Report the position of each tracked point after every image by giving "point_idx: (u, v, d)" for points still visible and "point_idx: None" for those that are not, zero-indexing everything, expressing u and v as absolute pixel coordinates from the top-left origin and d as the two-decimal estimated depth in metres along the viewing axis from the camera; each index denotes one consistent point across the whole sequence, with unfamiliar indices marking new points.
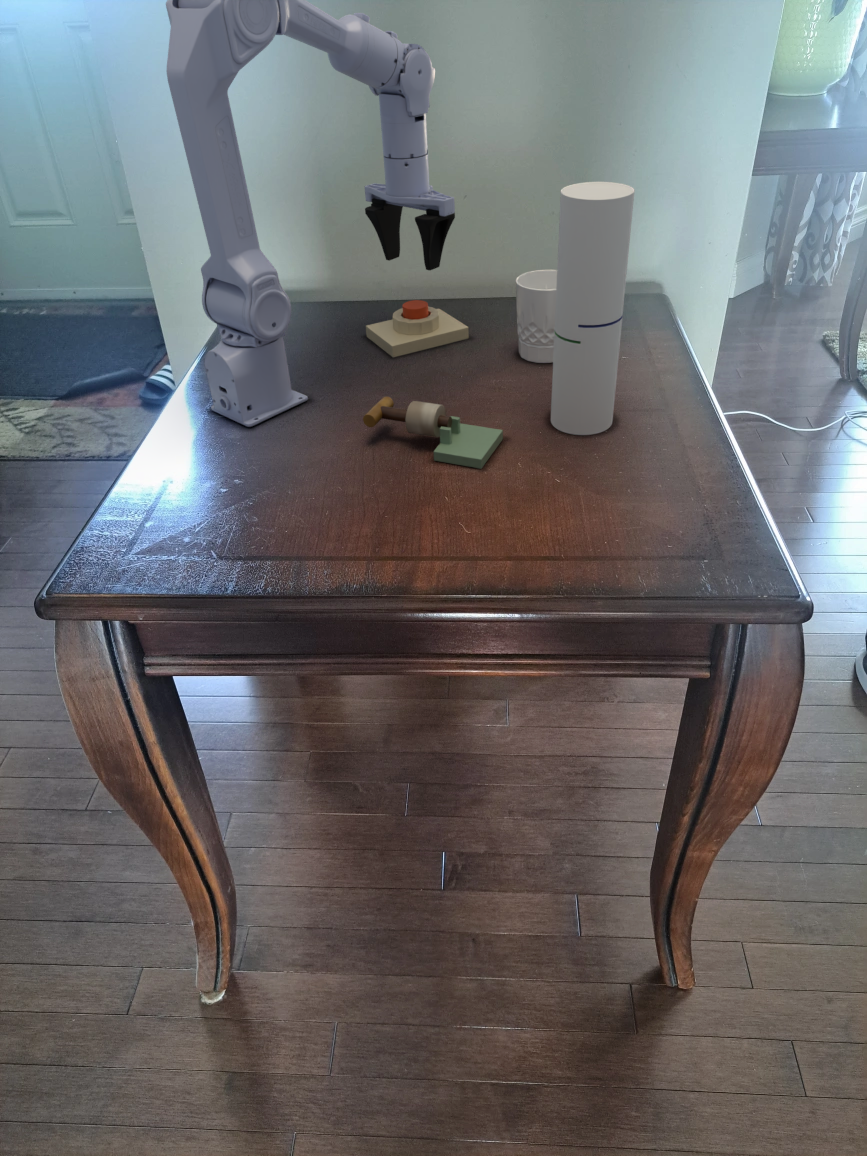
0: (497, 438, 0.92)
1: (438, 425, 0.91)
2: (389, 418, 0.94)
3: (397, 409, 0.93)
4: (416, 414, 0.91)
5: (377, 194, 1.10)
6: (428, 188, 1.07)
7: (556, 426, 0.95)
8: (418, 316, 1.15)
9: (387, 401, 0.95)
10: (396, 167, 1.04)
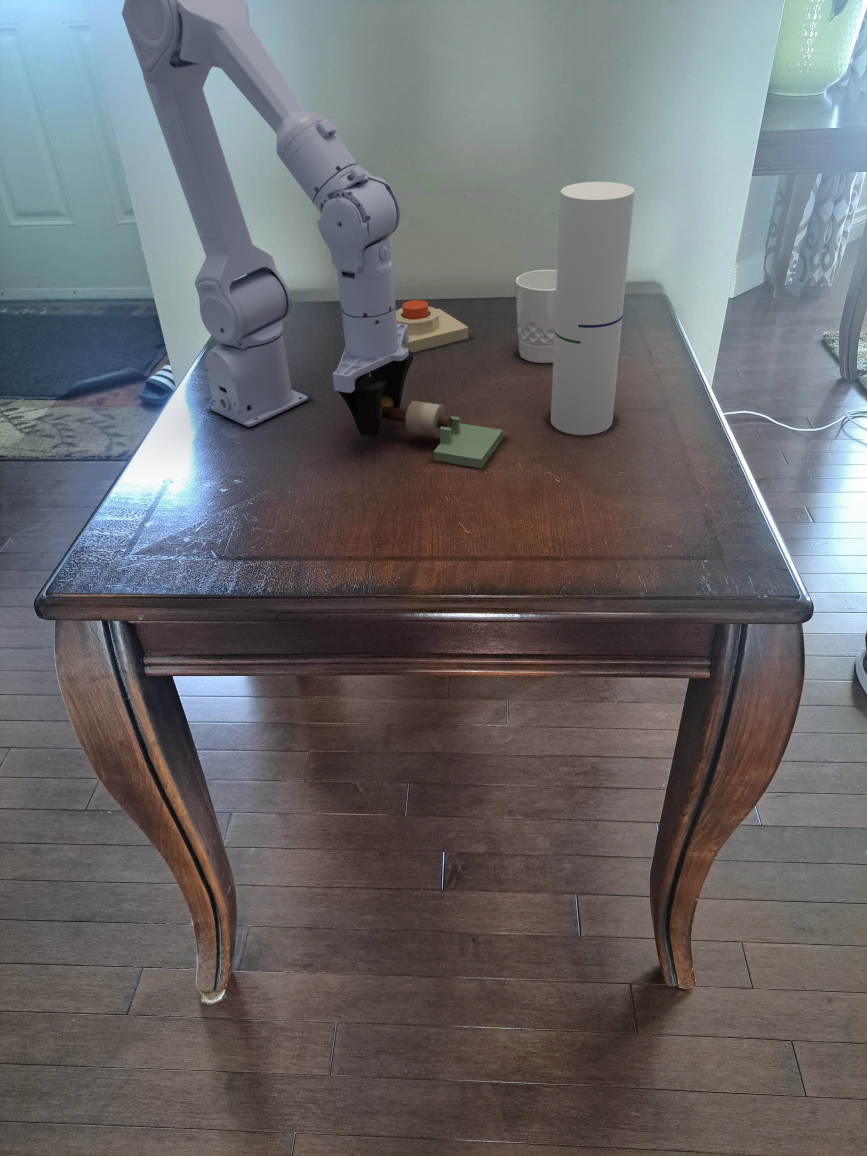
0: (497, 438, 0.92)
1: (438, 425, 0.91)
2: (389, 418, 0.94)
3: (397, 409, 0.93)
4: (416, 414, 0.91)
5: None
6: (371, 354, 0.87)
7: (556, 426, 0.95)
8: (418, 316, 1.15)
9: (387, 401, 0.95)
10: None
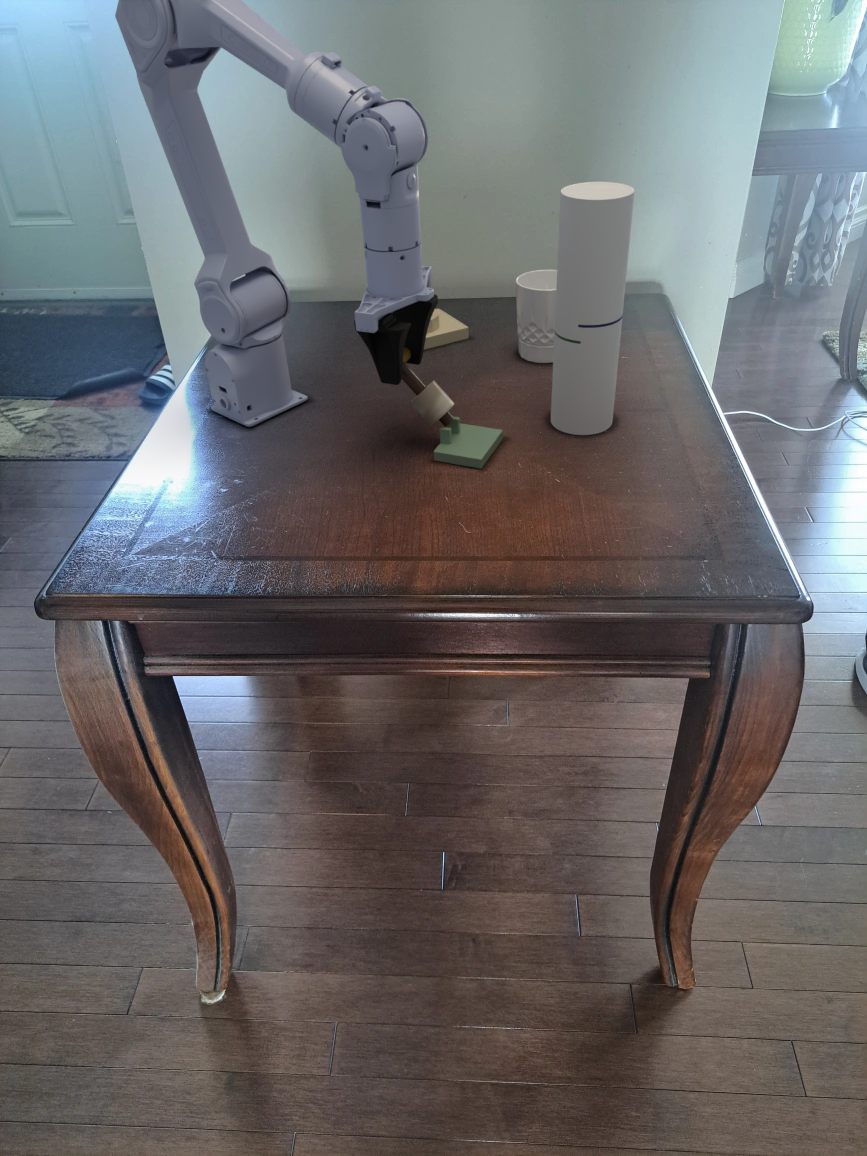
0: (497, 438, 0.92)
1: (439, 418, 0.91)
2: None
3: (414, 376, 0.90)
4: (430, 399, 0.89)
5: None
6: (395, 293, 0.82)
7: (556, 426, 0.95)
8: None
9: (407, 357, 0.90)
10: None
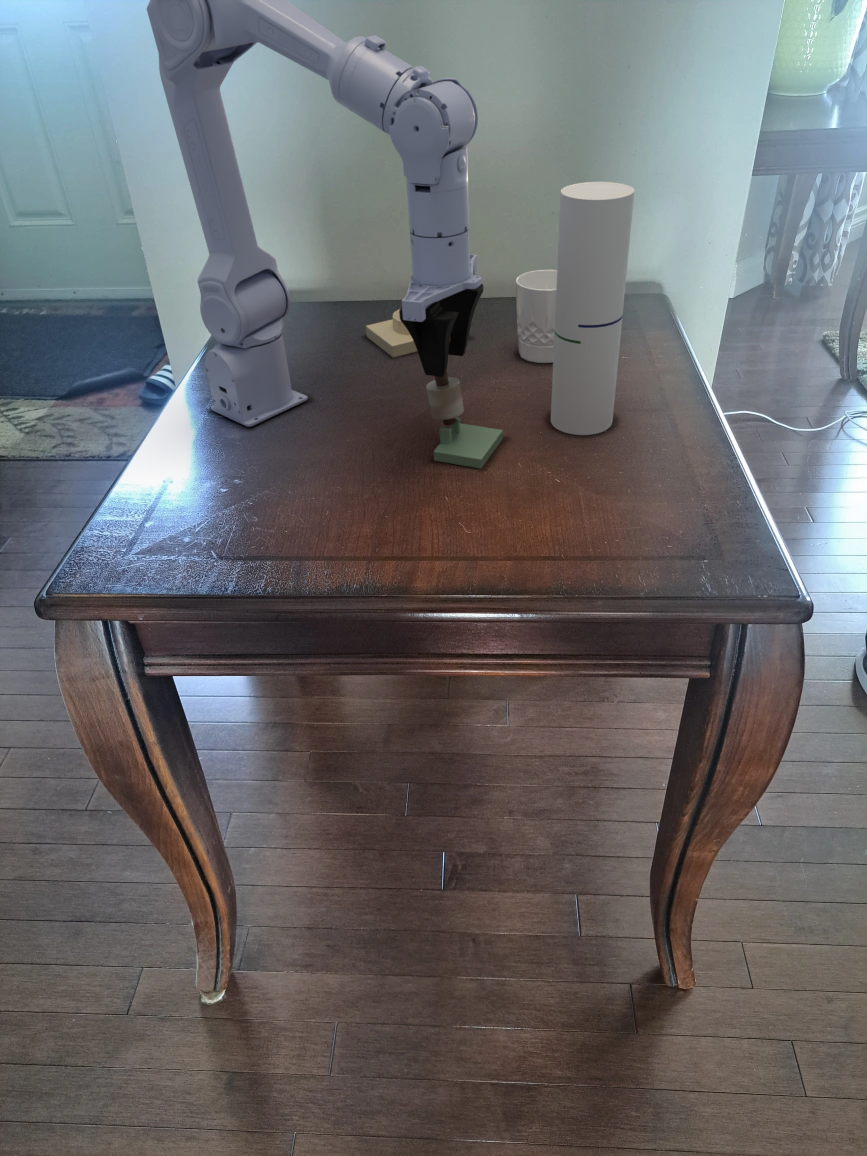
0: (497, 438, 0.92)
1: None
2: None
3: None
4: (449, 400, 0.88)
5: None
6: (443, 281, 0.79)
7: (556, 426, 0.95)
8: None
9: None
10: None
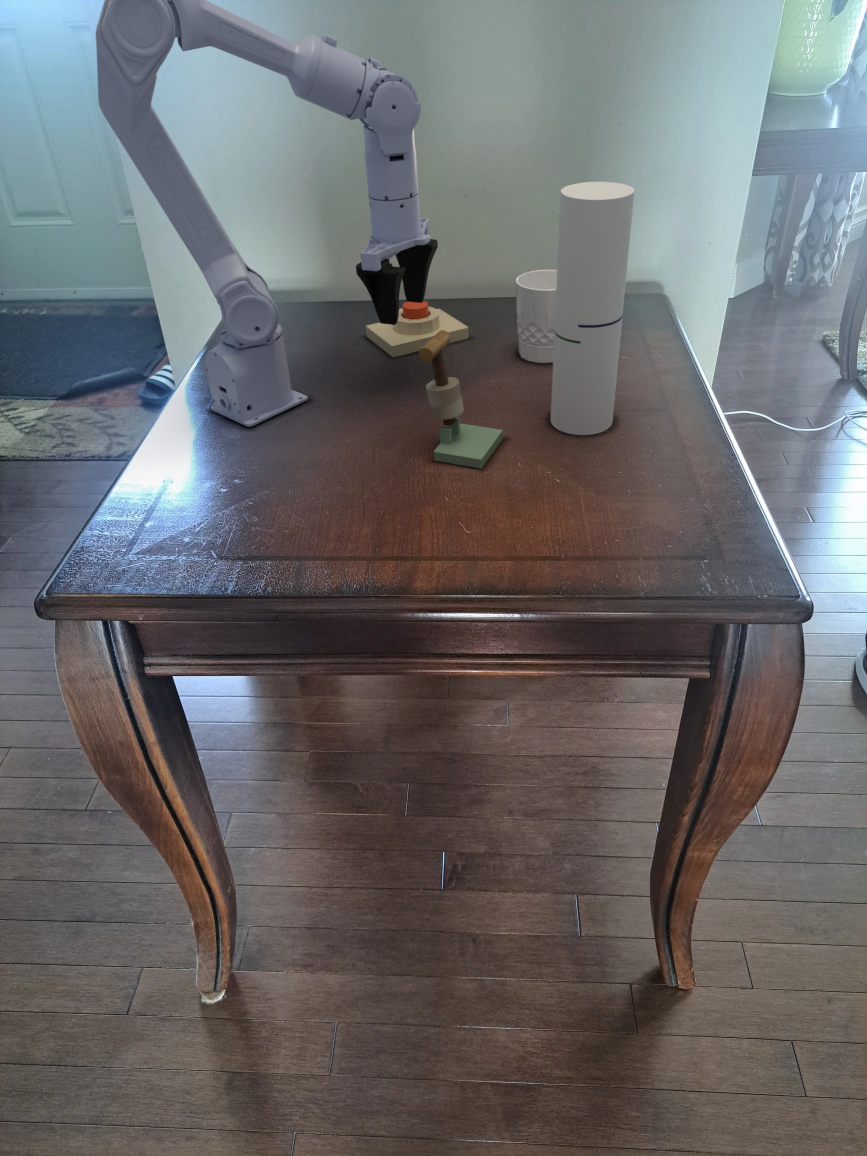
0: (497, 438, 0.92)
1: None
2: (433, 363, 0.87)
3: (444, 368, 0.88)
4: (448, 400, 0.88)
5: None
6: (396, 238, 0.94)
7: (556, 426, 0.95)
8: (418, 316, 1.15)
9: None
10: None
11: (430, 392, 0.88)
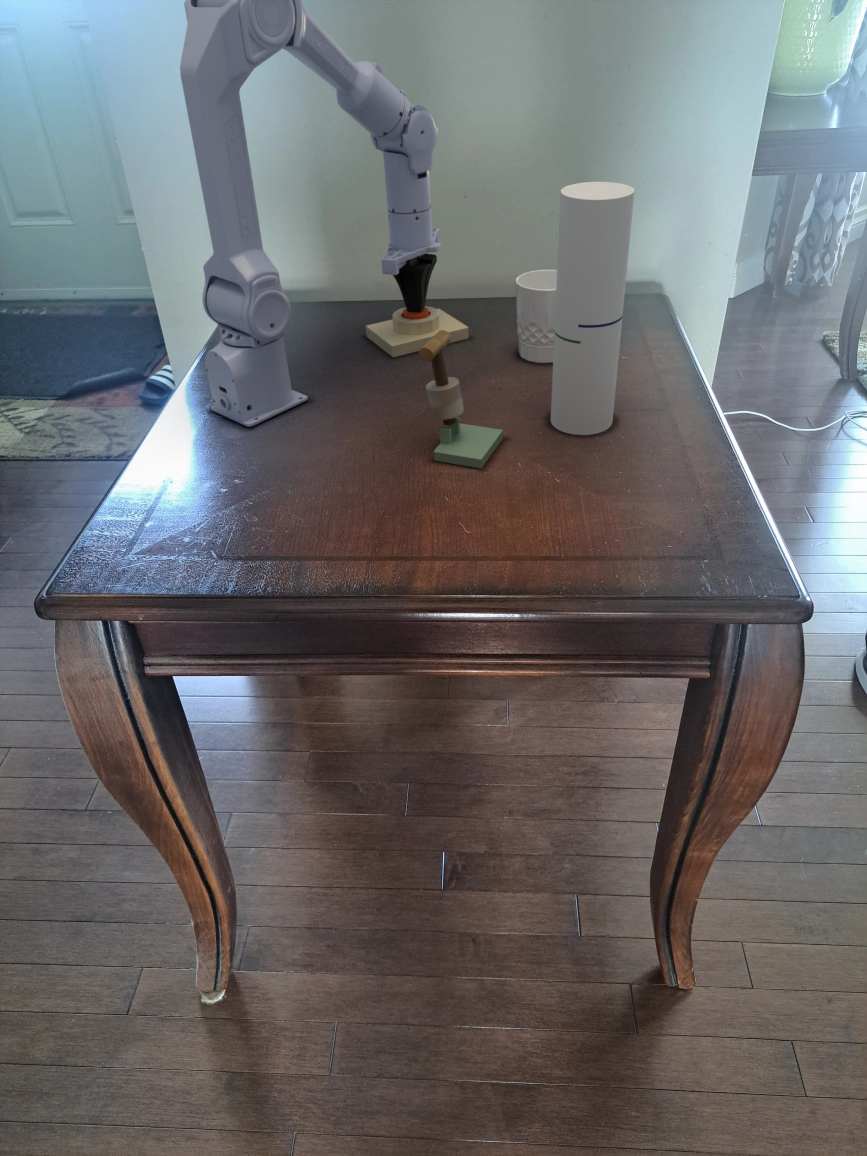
0: (497, 438, 0.92)
1: None
2: (433, 363, 0.87)
3: (444, 368, 0.88)
4: (448, 400, 0.88)
5: None
6: (412, 246, 1.08)
7: (556, 426, 0.95)
8: None
9: None
10: None
11: (430, 392, 0.88)
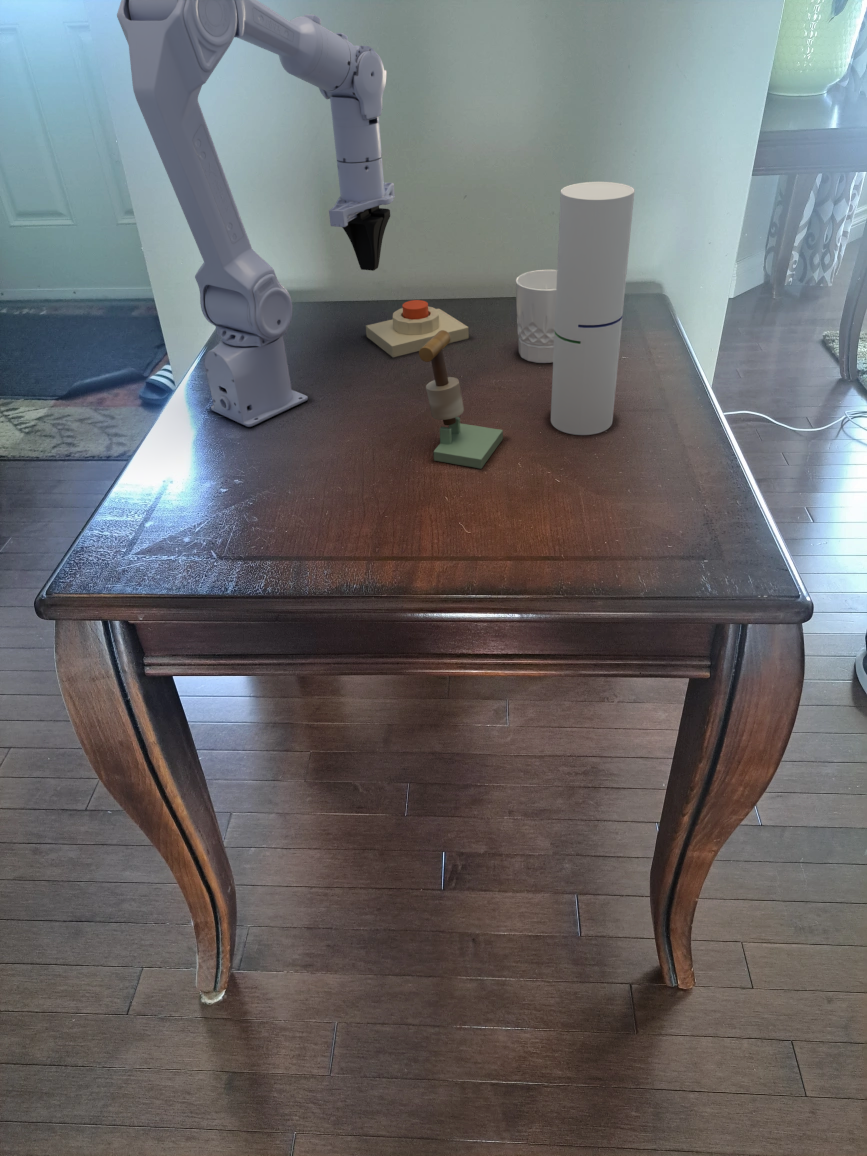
0: (497, 438, 0.92)
1: None
2: (433, 363, 0.87)
3: (444, 368, 0.88)
4: (448, 400, 0.88)
5: None
6: (362, 197, 1.04)
7: (556, 426, 0.95)
8: (418, 316, 1.15)
9: None
10: None
11: (430, 392, 0.88)
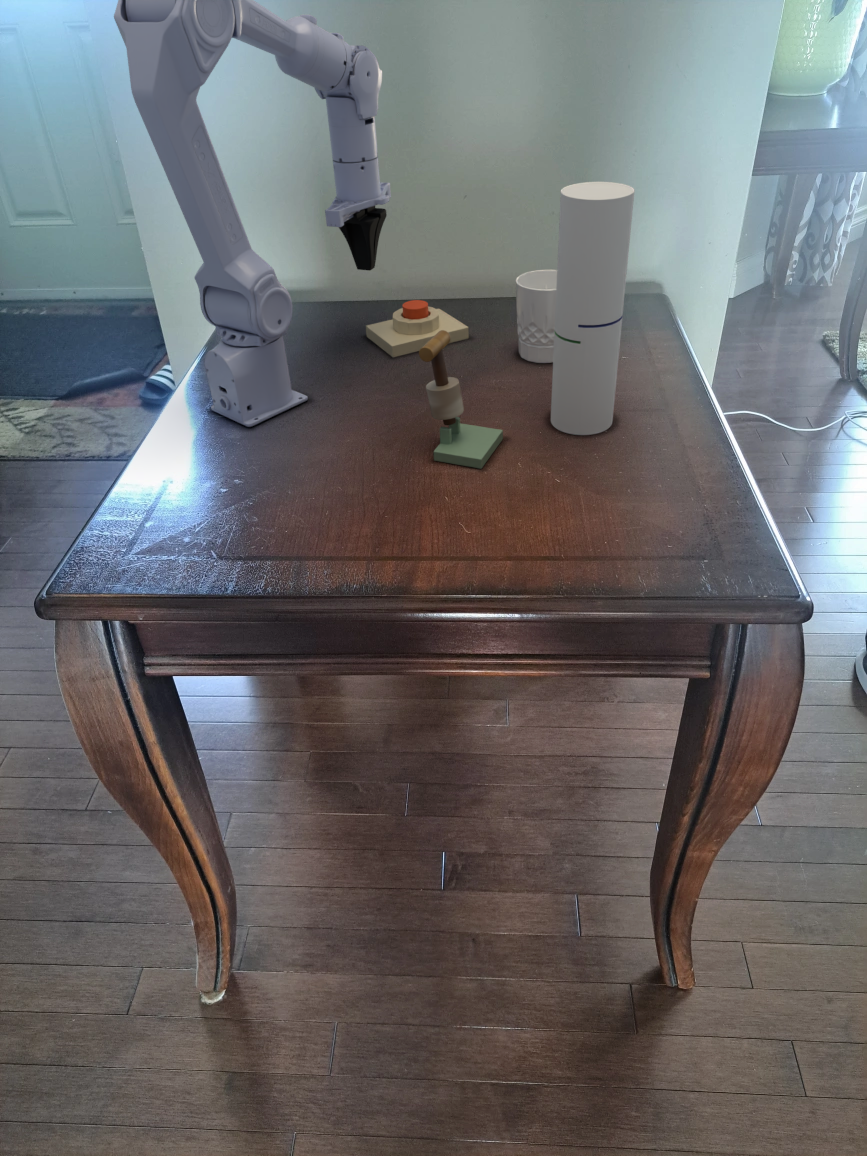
0: (497, 438, 0.92)
1: None
2: (433, 363, 0.87)
3: (444, 368, 0.88)
4: (448, 400, 0.88)
5: None
6: (358, 197, 1.04)
7: (556, 426, 0.95)
8: (418, 316, 1.15)
9: None
10: None
11: (430, 392, 0.88)
